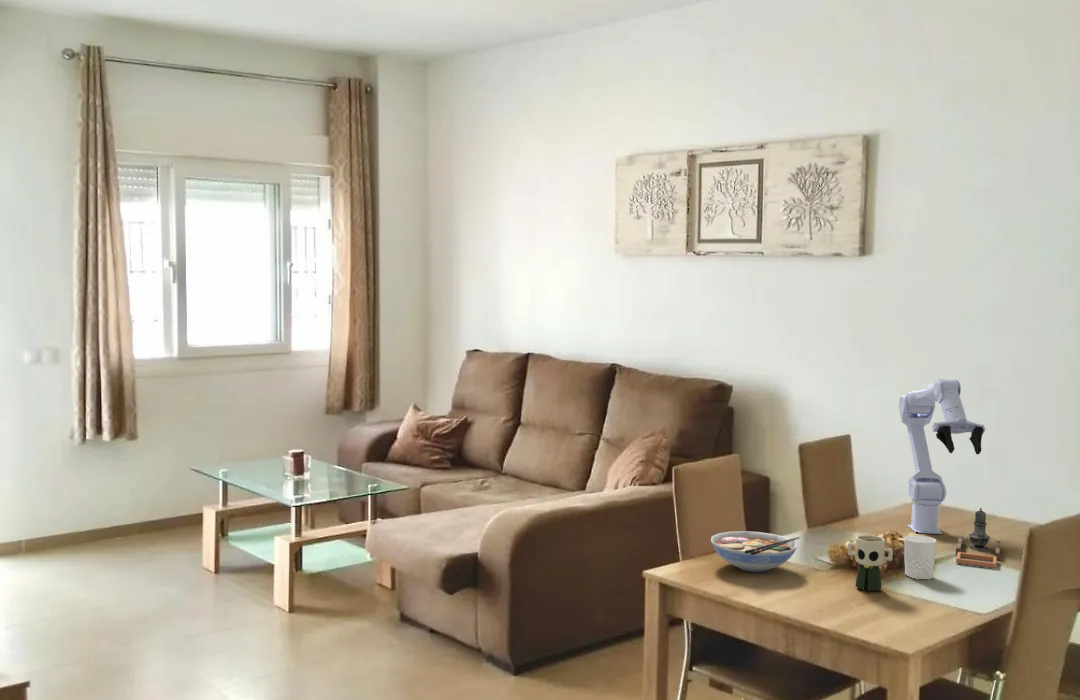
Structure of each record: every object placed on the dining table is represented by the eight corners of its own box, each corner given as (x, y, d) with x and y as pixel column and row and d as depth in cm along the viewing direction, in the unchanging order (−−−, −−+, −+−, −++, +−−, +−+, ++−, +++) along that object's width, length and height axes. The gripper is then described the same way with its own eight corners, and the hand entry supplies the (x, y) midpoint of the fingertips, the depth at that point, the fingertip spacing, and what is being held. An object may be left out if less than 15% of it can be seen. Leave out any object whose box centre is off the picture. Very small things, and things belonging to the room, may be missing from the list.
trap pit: (957, 557, 288) (957, 551, 288) (996, 562, 284) (996, 556, 284) (955, 564, 281) (956, 558, 281) (995, 569, 276) (995, 563, 276)
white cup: (897, 576, 268) (899, 538, 267) (910, 570, 274) (911, 533, 273) (927, 582, 262) (929, 544, 262) (939, 576, 268) (941, 539, 268)
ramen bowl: (743, 551, 289) (744, 523, 288) (815, 569, 273) (816, 539, 272) (689, 568, 271) (690, 537, 271) (763, 587, 255) (764, 555, 255)
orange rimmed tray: (959, 542, 304) (959, 536, 304) (1000, 547, 300) (1000, 540, 299) (955, 555, 290) (956, 548, 290) (998, 560, 285) (999, 553, 285)
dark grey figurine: (993, 551, 295) (995, 510, 295) (972, 550, 296) (974, 509, 295) (984, 545, 301) (986, 505, 300) (964, 545, 301) (966, 505, 301)
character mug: (842, 589, 255) (845, 538, 254) (849, 582, 261) (851, 532, 260) (888, 596, 250) (890, 544, 249) (893, 589, 256) (895, 538, 255)
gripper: (933, 404, 294) (944, 442, 286) (983, 406, 295) (996, 444, 286) (925, 418, 300) (936, 456, 291) (974, 420, 300) (986, 459, 291)
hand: (965, 451), depth 289 cm, fingers open, 7 cm apart
